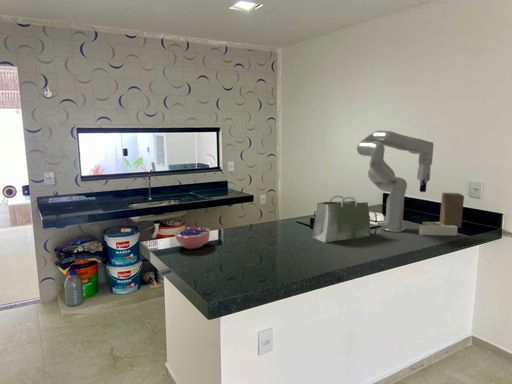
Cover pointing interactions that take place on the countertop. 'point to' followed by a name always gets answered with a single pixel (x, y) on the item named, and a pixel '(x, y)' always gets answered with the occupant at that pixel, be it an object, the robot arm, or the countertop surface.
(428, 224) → the oak block
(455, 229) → the cream board
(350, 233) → the grocery bag
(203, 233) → the cell model
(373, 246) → the countertop surface
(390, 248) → the countertop surface
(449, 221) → the wooden block
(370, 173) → the robot arm
